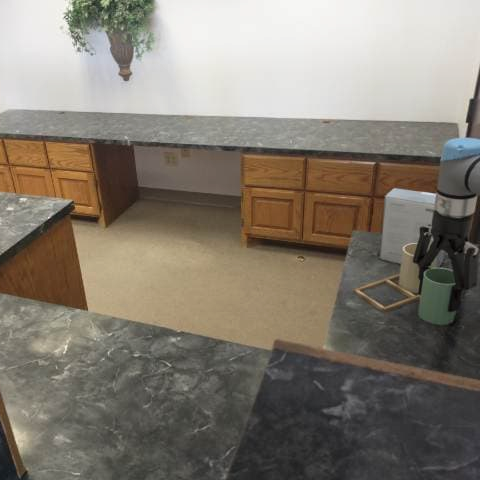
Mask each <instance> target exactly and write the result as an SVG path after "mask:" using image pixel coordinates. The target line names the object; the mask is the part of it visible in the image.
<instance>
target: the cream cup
mask: <svg viewBox="0 0 480 480" xmlns="http://www.w3.org/2000/svg"><path fill="white" fill-rule="evenodd" d="M429 246H430V245H429ZM416 247H417V243H410V244H407V245H405V246H404V247H403V250H402V258H401V264H400V268H399V274H400V275H399V279H398V286H400V287H402V288H403V289H405V290H407V291H409V292H410V293H412V294H418V291H419V284H420V280H419V279H418V275H419V267H418V264H415V263H413V257H414V254H415V250H416ZM429 248H430V247H428V250H429ZM428 250H427V251H428ZM435 261H436V258H435V259H434V261H433V262H432V264H431V265H432V266H429V267H428V268H430V267H431V268H435Z"/></svg>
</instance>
